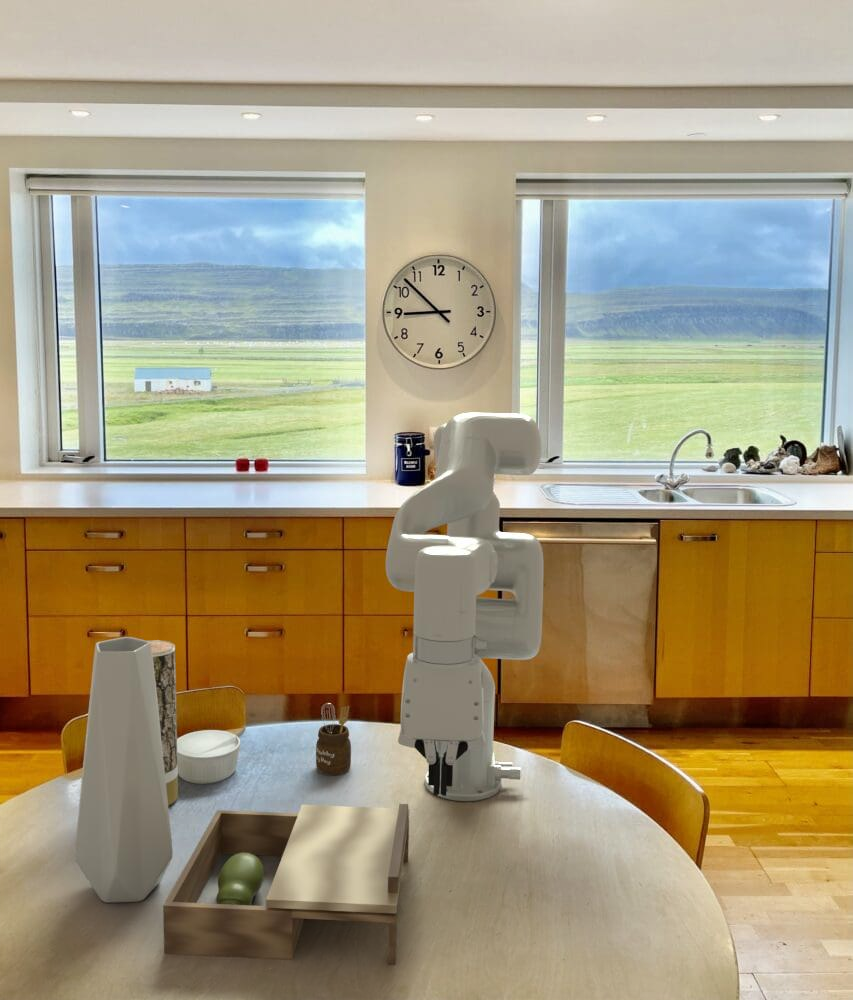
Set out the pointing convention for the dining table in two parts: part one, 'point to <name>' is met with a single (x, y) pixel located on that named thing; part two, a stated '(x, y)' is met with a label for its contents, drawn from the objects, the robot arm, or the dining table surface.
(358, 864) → the lid
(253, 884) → the pear
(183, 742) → the ramekin
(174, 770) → the paper tube
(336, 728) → the utensil holder
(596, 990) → the dining table surface
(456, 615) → the robot arm
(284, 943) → the wooden box
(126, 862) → the vase
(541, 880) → the dining table surface
